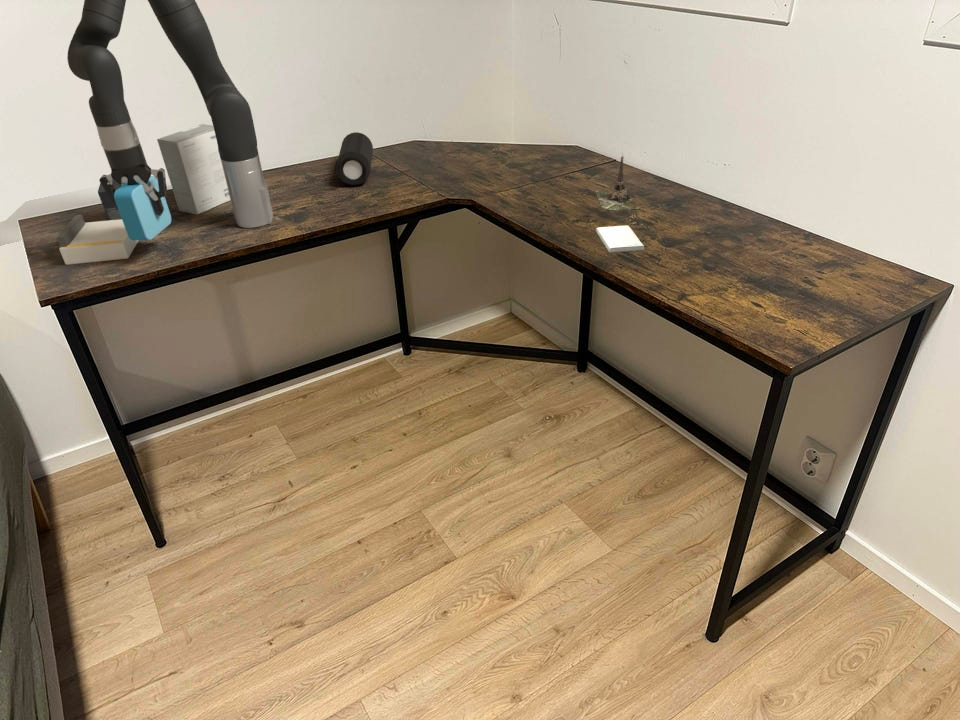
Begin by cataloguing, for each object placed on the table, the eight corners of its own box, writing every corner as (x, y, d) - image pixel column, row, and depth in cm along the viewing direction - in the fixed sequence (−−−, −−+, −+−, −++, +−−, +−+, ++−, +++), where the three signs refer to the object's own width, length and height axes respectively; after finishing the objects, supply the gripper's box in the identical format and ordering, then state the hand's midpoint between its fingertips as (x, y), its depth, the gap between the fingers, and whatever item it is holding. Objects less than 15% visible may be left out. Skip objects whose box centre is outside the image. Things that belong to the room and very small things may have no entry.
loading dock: (143, 232, 173) (135, 208, 169) (128, 258, 160) (119, 232, 156) (85, 237, 171) (76, 213, 167) (65, 264, 158) (55, 239, 154)
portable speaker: (344, 162, 217) (340, 130, 212) (375, 160, 218) (371, 129, 212) (337, 189, 196) (332, 155, 190) (371, 187, 197) (367, 153, 191)
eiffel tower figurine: (593, 192, 188) (596, 144, 181) (629, 191, 188) (634, 143, 181) (602, 212, 176) (605, 162, 168) (640, 211, 176) (646, 160, 168)
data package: (156, 222, 164) (139, 174, 158) (173, 221, 164) (157, 173, 157) (130, 242, 155) (111, 192, 148) (148, 242, 154) (130, 192, 147)
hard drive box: (221, 193, 196) (203, 123, 185) (239, 197, 193) (222, 126, 182) (177, 211, 185) (155, 138, 174) (196, 215, 182) (175, 141, 170)
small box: (113, 216, 183) (99, 178, 178) (138, 212, 185) (126, 174, 179) (110, 230, 175) (95, 191, 169) (136, 225, 177) (123, 187, 171)
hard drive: (644, 245, 154) (628, 224, 165) (609, 248, 154) (596, 226, 164) (643, 252, 155) (628, 230, 166) (609, 254, 155) (595, 233, 165)
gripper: (158, 135, 151) (181, 206, 161) (91, 142, 150) (118, 214, 159) (151, 145, 145) (175, 218, 155) (81, 152, 143) (110, 226, 153)
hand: (146, 215), depth 157 cm, fingers closed on data package, 5 cm apart
